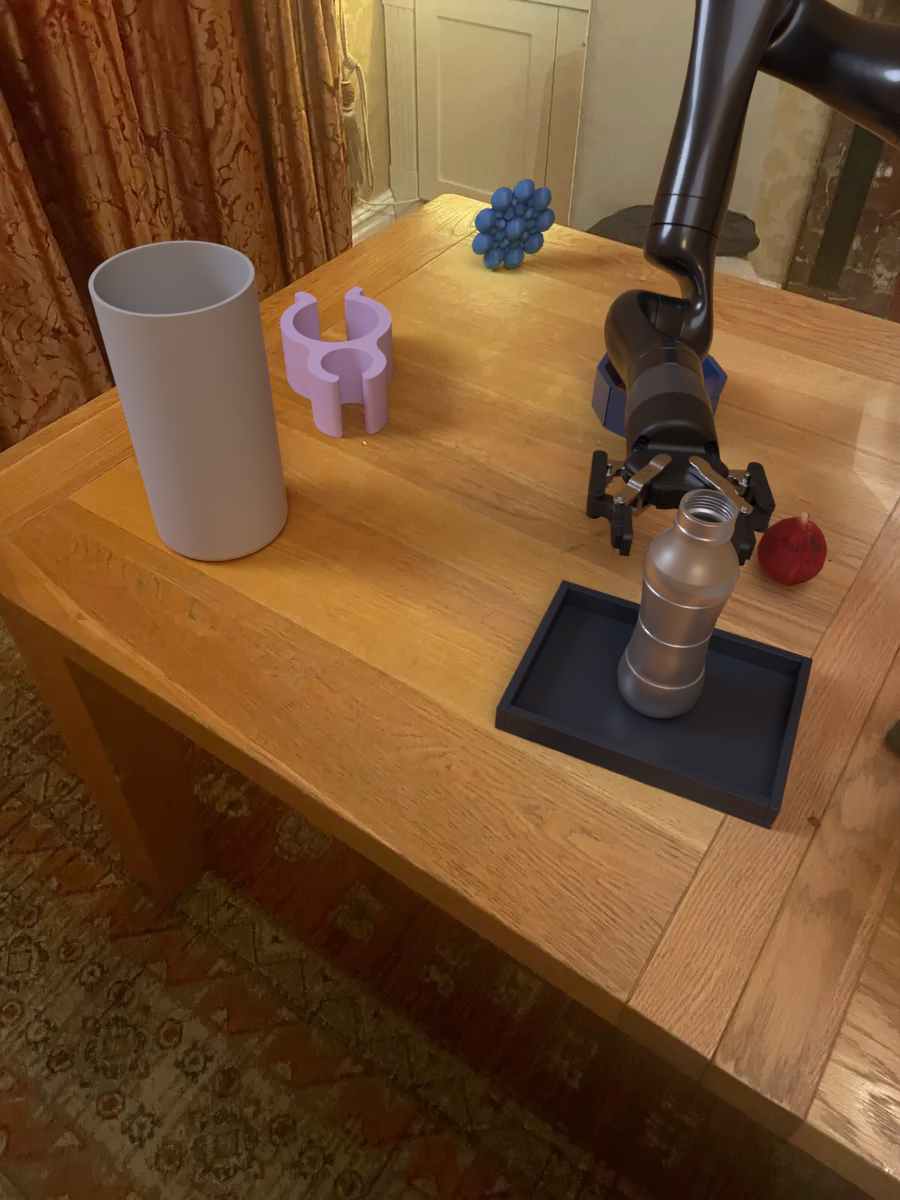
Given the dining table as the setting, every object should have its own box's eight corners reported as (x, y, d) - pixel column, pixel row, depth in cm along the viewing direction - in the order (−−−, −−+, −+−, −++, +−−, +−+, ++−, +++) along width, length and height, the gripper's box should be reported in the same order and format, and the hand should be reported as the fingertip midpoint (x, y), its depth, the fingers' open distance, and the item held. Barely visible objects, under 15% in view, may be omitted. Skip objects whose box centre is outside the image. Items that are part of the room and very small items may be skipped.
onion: (824, 596, 83) (854, 530, 77) (769, 609, 81) (795, 542, 76) (790, 554, 86) (816, 488, 81) (736, 565, 85) (759, 499, 79)
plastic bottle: (688, 739, 70) (756, 550, 56) (603, 714, 72) (648, 523, 58) (702, 679, 75) (768, 489, 60) (622, 656, 76) (668, 465, 62)
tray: (803, 678, 76) (813, 658, 74) (770, 830, 66) (780, 811, 64) (559, 599, 82) (562, 579, 80) (494, 728, 72) (496, 707, 70)
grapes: (539, 250, 131) (547, 163, 122) (555, 271, 126) (565, 183, 118) (461, 259, 128) (464, 171, 120) (476, 280, 124) (480, 191, 115)
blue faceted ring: (726, 393, 106) (737, 354, 102) (698, 459, 97) (709, 420, 93) (614, 365, 109) (621, 327, 106) (577, 427, 100) (583, 388, 97)
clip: (411, 429, 99) (411, 374, 94) (297, 442, 97) (290, 386, 92) (382, 337, 113) (380, 284, 108) (281, 346, 111) (275, 293, 106)
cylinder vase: (131, 544, 86) (53, 296, 68) (203, 469, 94) (151, 230, 76) (247, 580, 82) (197, 330, 65) (311, 499, 91) (283, 257, 73)
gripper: (592, 383, 76) (594, 506, 65) (764, 395, 76) (796, 522, 64) (581, 455, 82) (581, 581, 70) (741, 467, 81) (767, 596, 70)
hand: (684, 553), depth 67 cm, fingers open, 8 cm apart
